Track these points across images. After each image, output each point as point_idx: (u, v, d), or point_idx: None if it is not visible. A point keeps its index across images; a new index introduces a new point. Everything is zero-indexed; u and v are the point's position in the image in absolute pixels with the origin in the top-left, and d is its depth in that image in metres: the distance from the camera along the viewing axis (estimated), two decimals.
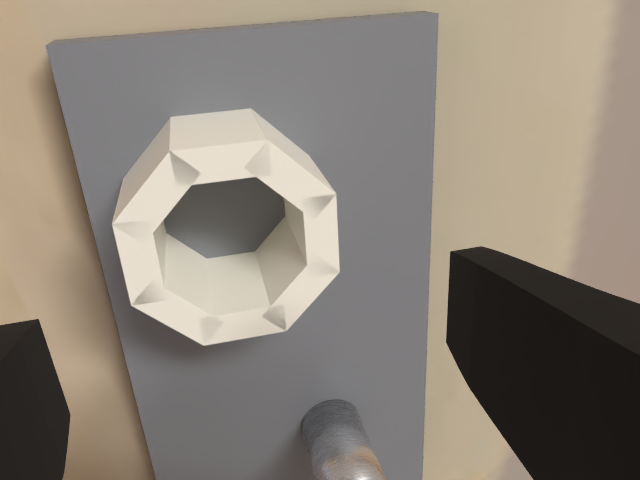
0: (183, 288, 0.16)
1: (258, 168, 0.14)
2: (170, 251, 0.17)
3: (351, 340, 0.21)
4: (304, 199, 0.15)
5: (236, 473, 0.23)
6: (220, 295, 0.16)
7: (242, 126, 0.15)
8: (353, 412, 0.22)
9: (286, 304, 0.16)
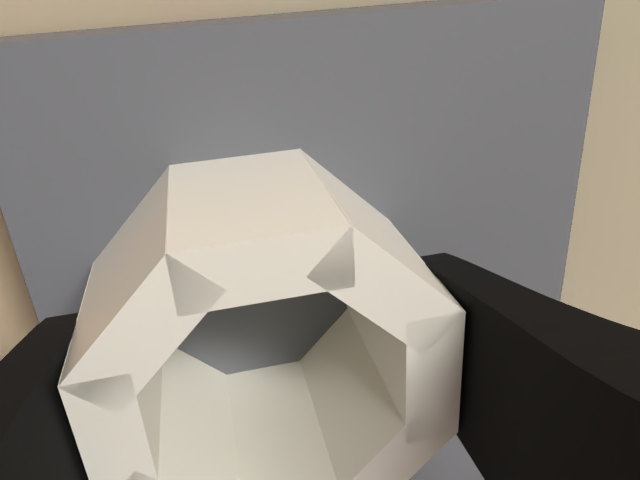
0: (191, 465, 0.09)
1: (332, 276, 0.07)
2: (170, 381, 0.10)
3: (432, 469, 0.15)
4: (410, 324, 0.08)
5: None
6: (252, 460, 0.10)
7: (295, 190, 0.08)
8: None
9: None
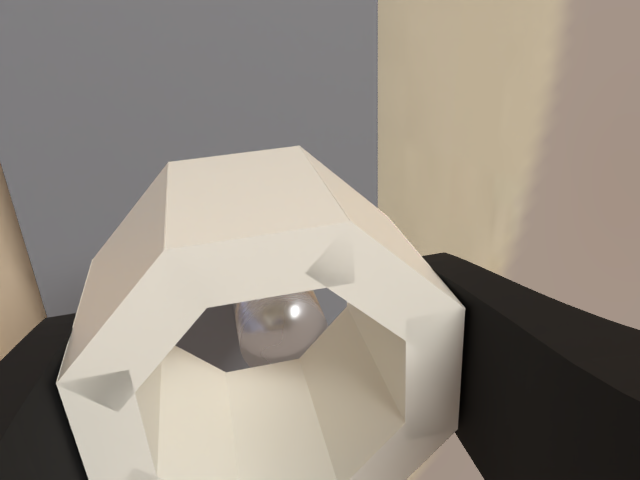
0: (190, 463, 0.09)
1: (331, 272, 0.07)
2: (169, 378, 0.10)
3: None
4: (409, 320, 0.08)
5: None
6: (252, 458, 0.10)
7: (294, 186, 0.08)
8: None
9: None
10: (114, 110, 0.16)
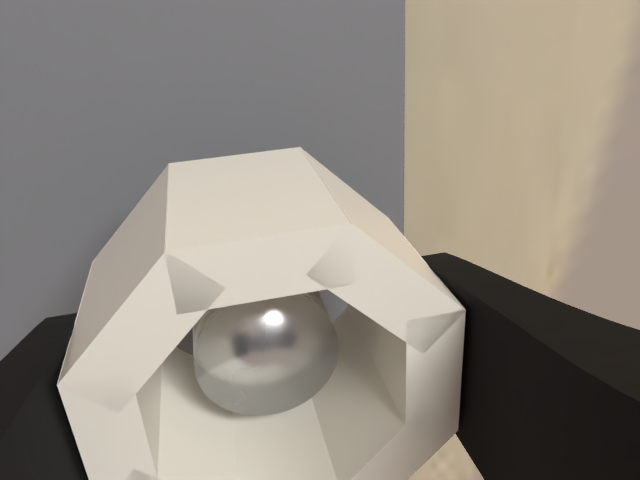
0: (191, 464, 0.09)
1: (332, 274, 0.07)
2: (169, 380, 0.10)
3: (266, 70, 0.12)
4: (410, 322, 0.08)
5: None
6: (252, 459, 0.10)
7: (295, 187, 0.08)
8: None
9: None
10: (0, 3, 0.10)
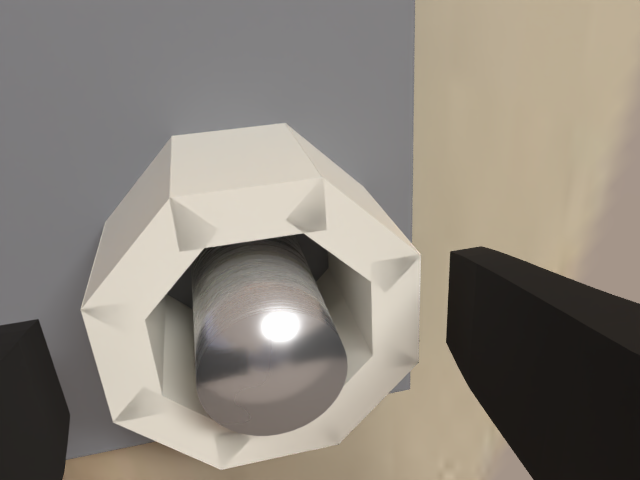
0: (190, 389, 0.11)
1: (307, 220, 0.09)
2: (172, 325, 0.12)
3: (271, 73, 0.11)
4: (373, 264, 0.10)
5: (81, 340, 0.13)
6: None
7: (278, 153, 0.10)
8: None
9: (340, 409, 0.11)
10: None
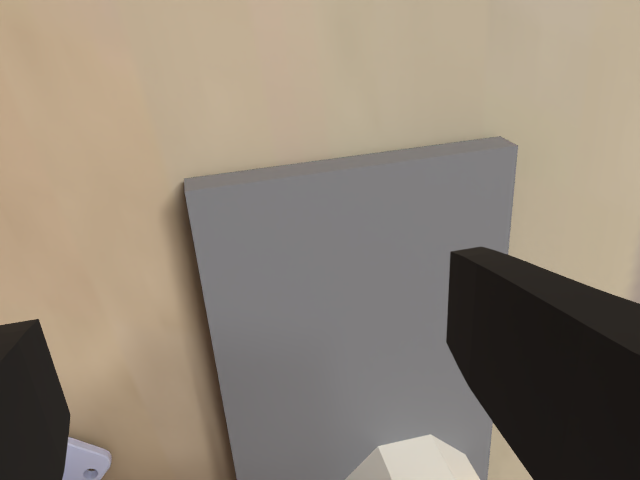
0: None
1: None
2: None
3: (426, 417, 0.24)
4: None
5: None
6: None
7: (439, 474, 0.22)
8: None
9: None
10: (313, 410, 0.22)
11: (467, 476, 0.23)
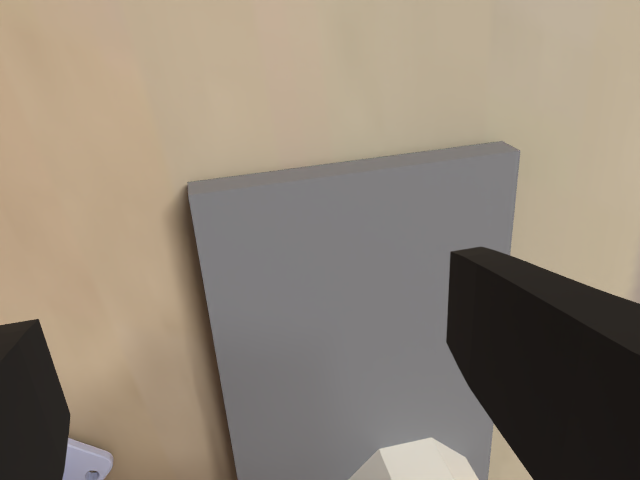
0: None
1: None
2: None
3: (427, 420, 0.24)
4: None
5: None
6: None
7: (440, 477, 0.22)
8: None
9: None
10: (314, 412, 0.22)
11: (468, 479, 0.23)
